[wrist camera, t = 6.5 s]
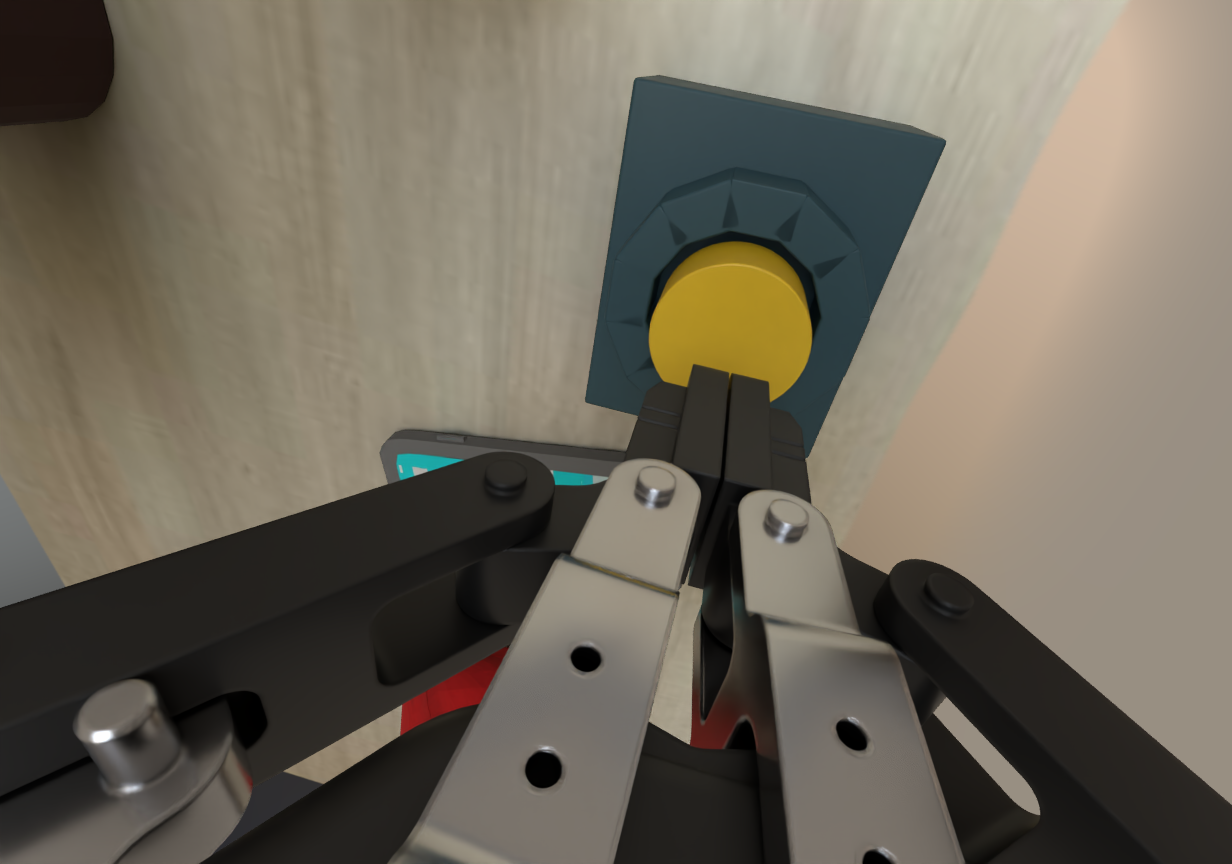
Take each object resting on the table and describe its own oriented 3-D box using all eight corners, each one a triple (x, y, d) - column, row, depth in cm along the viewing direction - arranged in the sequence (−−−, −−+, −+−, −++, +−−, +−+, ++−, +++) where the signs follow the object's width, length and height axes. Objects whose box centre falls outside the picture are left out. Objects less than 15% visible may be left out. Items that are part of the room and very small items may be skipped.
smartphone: (679, 606, 29) (409, 564, 32) (682, 591, 30) (417, 552, 33) (688, 468, 24) (371, 433, 27) (690, 455, 25) (382, 423, 28)
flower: (3, 728, 29) (582, 847, 28) (15, 550, 28) (615, 667, 27) (154, 645, 38) (597, 733, 37) (167, 508, 37) (623, 594, 36)
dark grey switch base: (656, 74, 18) (618, 78, 13) (912, 126, 17) (973, 150, 12) (608, 356, 24) (568, 432, 19) (801, 403, 23) (812, 495, 18)
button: (676, 225, 15) (666, 245, 13) (829, 259, 15) (838, 284, 13) (647, 360, 17) (635, 392, 16) (779, 392, 17) (781, 429, 15)
